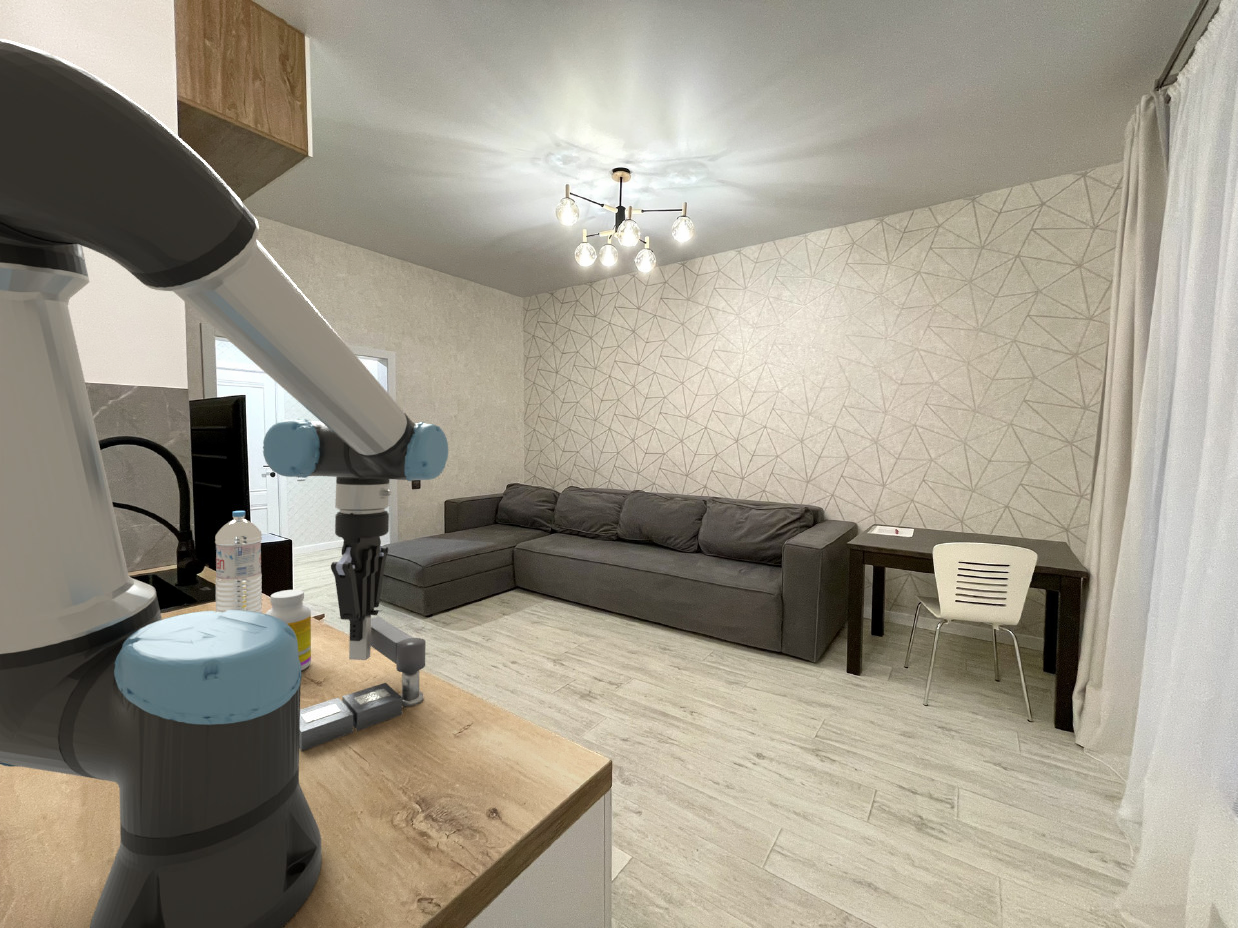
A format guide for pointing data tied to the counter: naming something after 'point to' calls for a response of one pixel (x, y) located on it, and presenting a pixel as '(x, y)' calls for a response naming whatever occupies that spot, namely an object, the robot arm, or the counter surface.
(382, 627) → the cable arm
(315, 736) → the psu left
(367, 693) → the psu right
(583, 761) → the counter surface
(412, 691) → the pivot post
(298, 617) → the supplement bottle
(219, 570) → the water bottle
